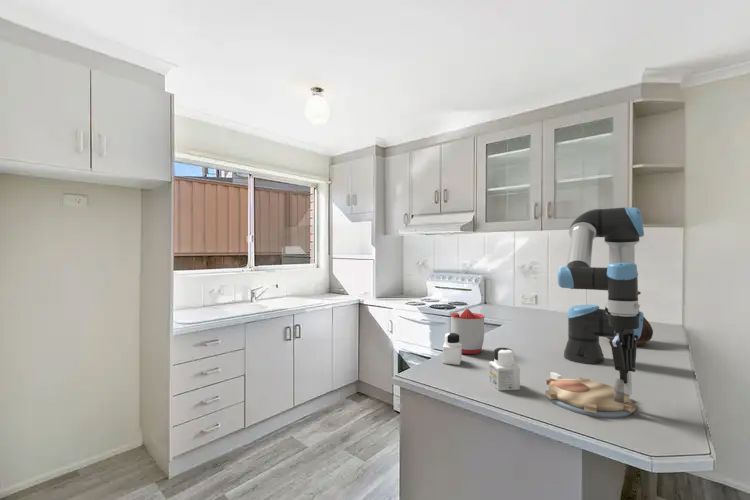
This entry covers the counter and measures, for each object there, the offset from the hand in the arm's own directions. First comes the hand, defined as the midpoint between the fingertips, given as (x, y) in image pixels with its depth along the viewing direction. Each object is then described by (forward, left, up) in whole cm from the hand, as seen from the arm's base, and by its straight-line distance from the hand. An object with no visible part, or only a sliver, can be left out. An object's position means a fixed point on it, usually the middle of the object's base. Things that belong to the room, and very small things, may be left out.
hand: (625, 393), depth 108 cm
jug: (-67, +64, -5) cm, 93 cm away
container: (-22, -27, -5) cm, 35 cm away
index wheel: (-7, -7, -3) cm, 11 cm away
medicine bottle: (-51, -35, -5) cm, 62 cm away
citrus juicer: (-66, -22, -5) cm, 70 cm away
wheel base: (-10, -7, -5) cm, 13 cm away
